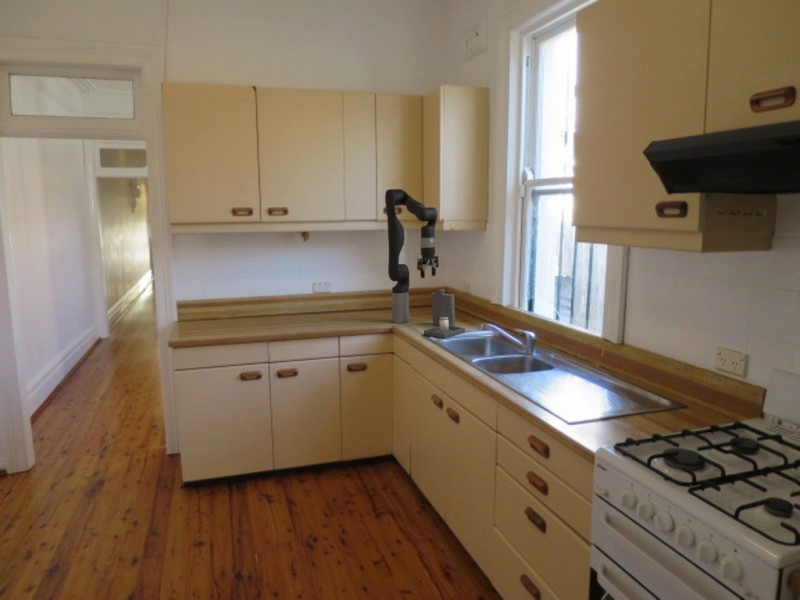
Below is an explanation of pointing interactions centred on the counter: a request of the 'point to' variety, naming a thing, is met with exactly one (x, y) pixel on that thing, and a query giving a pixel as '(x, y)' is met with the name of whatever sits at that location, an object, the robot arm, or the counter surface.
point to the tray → (436, 333)
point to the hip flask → (443, 307)
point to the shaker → (444, 324)
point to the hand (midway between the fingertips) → (428, 276)
